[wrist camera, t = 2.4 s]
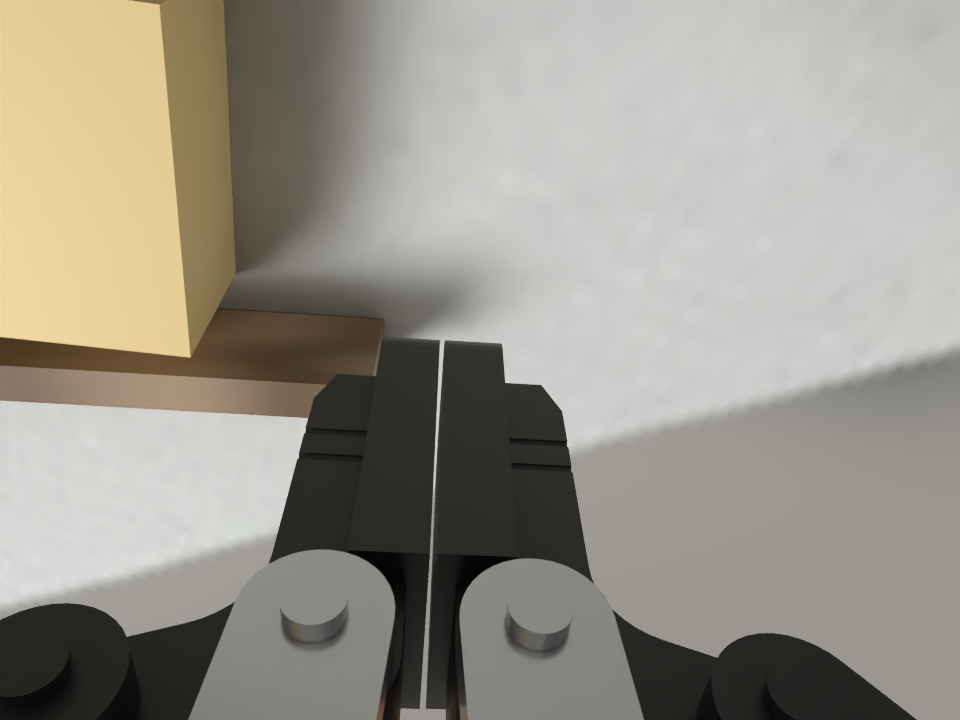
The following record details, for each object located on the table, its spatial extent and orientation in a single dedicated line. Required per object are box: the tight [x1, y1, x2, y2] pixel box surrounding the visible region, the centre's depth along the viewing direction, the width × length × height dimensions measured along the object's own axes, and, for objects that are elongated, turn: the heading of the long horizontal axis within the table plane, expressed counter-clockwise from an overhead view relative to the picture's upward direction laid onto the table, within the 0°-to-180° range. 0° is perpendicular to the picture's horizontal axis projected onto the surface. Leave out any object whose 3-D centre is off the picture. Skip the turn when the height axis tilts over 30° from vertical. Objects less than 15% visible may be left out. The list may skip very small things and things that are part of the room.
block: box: [0, 0, 236, 358], centre depth 16 cm, size 7×7×4 cm
